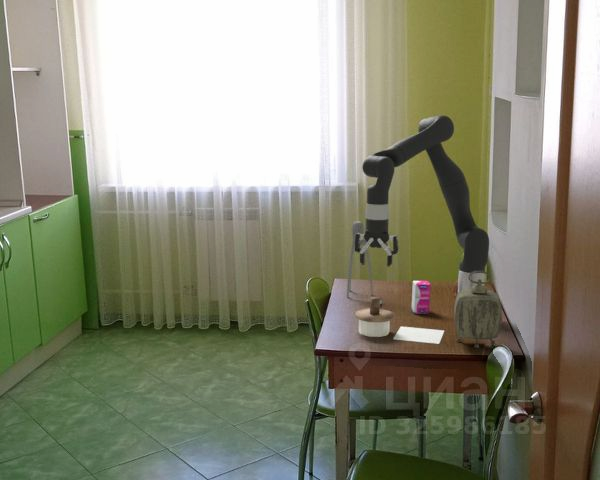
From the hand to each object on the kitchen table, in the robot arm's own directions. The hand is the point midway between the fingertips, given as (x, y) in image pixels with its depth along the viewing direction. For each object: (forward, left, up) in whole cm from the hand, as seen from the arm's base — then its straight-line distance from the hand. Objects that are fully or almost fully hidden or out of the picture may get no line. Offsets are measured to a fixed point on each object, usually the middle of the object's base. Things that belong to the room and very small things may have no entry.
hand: (375, 265), depth 256 cm
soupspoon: (+5, -28, -24) cm, 38 cm away
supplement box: (-11, -32, -24) cm, 41 cm away
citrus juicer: (+16, -50, -24) cm, 58 cm away
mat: (-15, -2, -24) cm, 28 cm away
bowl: (0, 0, -24) cm, 24 cm away
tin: (-24, -57, -24) cm, 66 cm away
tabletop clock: (-34, +3, -24) cm, 42 cm away
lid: (0, 0, -18) cm, 18 cm away
